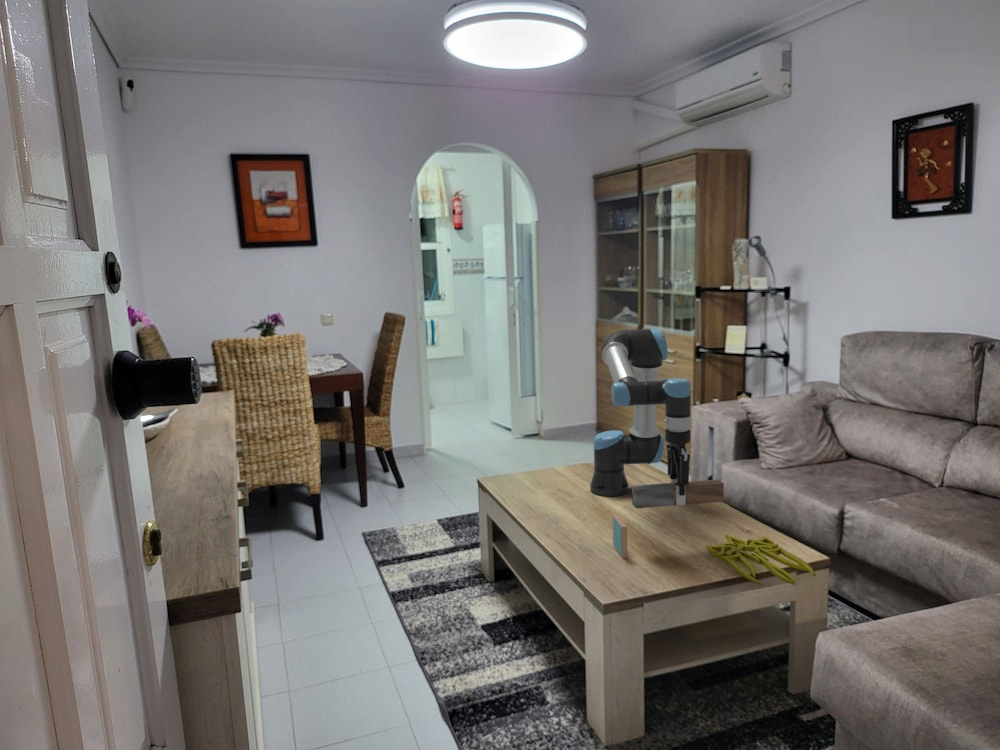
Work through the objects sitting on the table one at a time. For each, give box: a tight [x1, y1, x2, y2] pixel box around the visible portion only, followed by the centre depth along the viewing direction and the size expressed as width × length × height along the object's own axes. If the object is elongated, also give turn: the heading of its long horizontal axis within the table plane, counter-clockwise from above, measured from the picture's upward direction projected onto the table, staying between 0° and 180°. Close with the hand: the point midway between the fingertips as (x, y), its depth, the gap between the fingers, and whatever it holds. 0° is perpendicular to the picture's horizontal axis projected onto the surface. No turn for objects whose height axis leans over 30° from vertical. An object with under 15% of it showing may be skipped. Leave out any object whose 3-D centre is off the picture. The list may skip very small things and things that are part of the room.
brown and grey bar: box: [631, 479, 725, 509], centre depth 210 cm, size 4×28×6 cm, turn 96°
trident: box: [705, 533, 815, 586], centre depth 201 cm, size 22×2×35 cm
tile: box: [612, 514, 628, 559], centre depth 210 cm, size 10×2×10 cm, turn 6°
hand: (677, 501), depth 211 cm, fingers closed on brown and grey bar, 4 cm apart
